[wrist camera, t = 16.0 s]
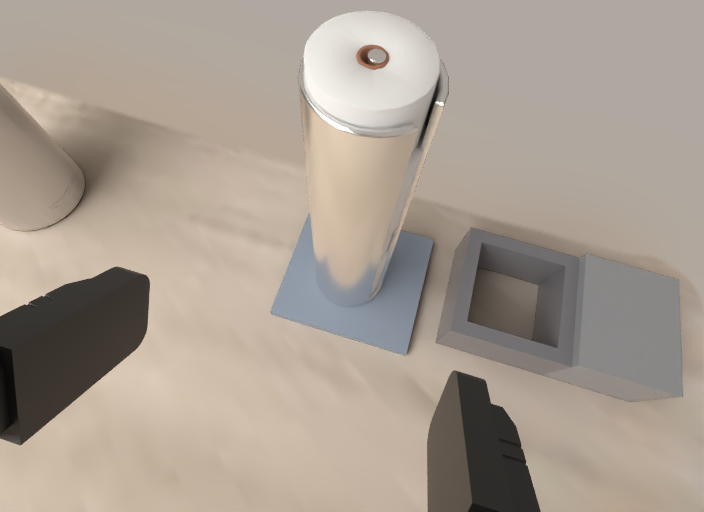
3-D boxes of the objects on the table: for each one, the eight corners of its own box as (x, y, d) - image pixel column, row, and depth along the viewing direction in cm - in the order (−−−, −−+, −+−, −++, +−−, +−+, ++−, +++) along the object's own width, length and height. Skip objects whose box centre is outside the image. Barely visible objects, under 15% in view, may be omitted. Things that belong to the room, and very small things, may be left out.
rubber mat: (271, 314, 38) (270, 312, 37) (312, 208, 43) (312, 204, 42) (404, 355, 37) (406, 353, 36) (432, 242, 42) (433, 239, 41)
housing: (435, 342, 38) (453, 327, 32) (455, 249, 42) (474, 222, 36) (629, 401, 37) (682, 396, 31) (631, 300, 40) (678, 279, 35)
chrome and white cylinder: (326, 315, 38) (320, 133, 15) (308, 253, 40) (279, 14, 17) (392, 296, 39) (483, 99, 16) (370, 237, 41) (422, -9, 18)
